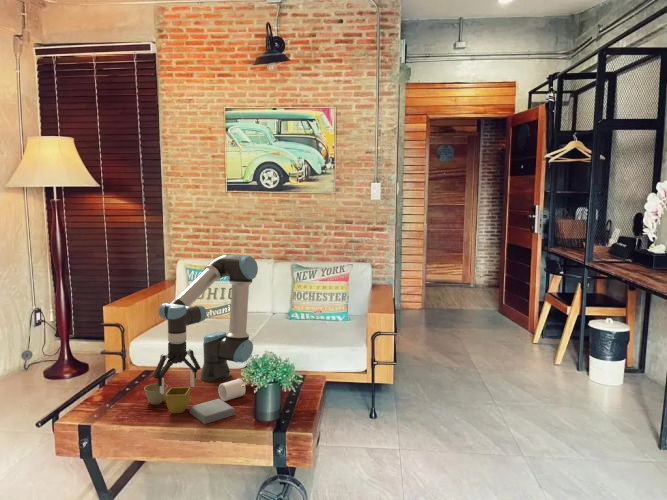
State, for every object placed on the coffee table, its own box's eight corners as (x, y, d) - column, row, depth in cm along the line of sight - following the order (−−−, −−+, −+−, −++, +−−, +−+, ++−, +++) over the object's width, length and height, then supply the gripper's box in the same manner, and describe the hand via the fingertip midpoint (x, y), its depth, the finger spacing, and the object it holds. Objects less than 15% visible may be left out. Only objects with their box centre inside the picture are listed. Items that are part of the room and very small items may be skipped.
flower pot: (165, 415, 205) (164, 394, 204) (171, 406, 213) (170, 387, 213) (185, 415, 205) (185, 394, 204) (191, 406, 214) (190, 387, 213)
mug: (245, 397, 225) (245, 381, 224) (227, 403, 218) (227, 386, 217) (231, 390, 233) (231, 374, 232) (213, 395, 226) (213, 379, 226)
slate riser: (219, 404, 216) (219, 397, 216) (234, 414, 206) (234, 408, 206) (189, 412, 207) (189, 406, 207) (204, 424, 197) (204, 417, 197)
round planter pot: (160, 407, 212) (159, 392, 211) (139, 405, 214) (139, 390, 213) (172, 399, 222) (171, 384, 221) (152, 397, 224) (152, 382, 223)
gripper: (200, 335, 217) (200, 380, 219) (144, 344, 201) (145, 393, 203) (208, 338, 212) (207, 385, 213) (151, 348, 195) (151, 398, 197)
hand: (177, 389), depth 208 cm, fingers open, 13 cm apart
